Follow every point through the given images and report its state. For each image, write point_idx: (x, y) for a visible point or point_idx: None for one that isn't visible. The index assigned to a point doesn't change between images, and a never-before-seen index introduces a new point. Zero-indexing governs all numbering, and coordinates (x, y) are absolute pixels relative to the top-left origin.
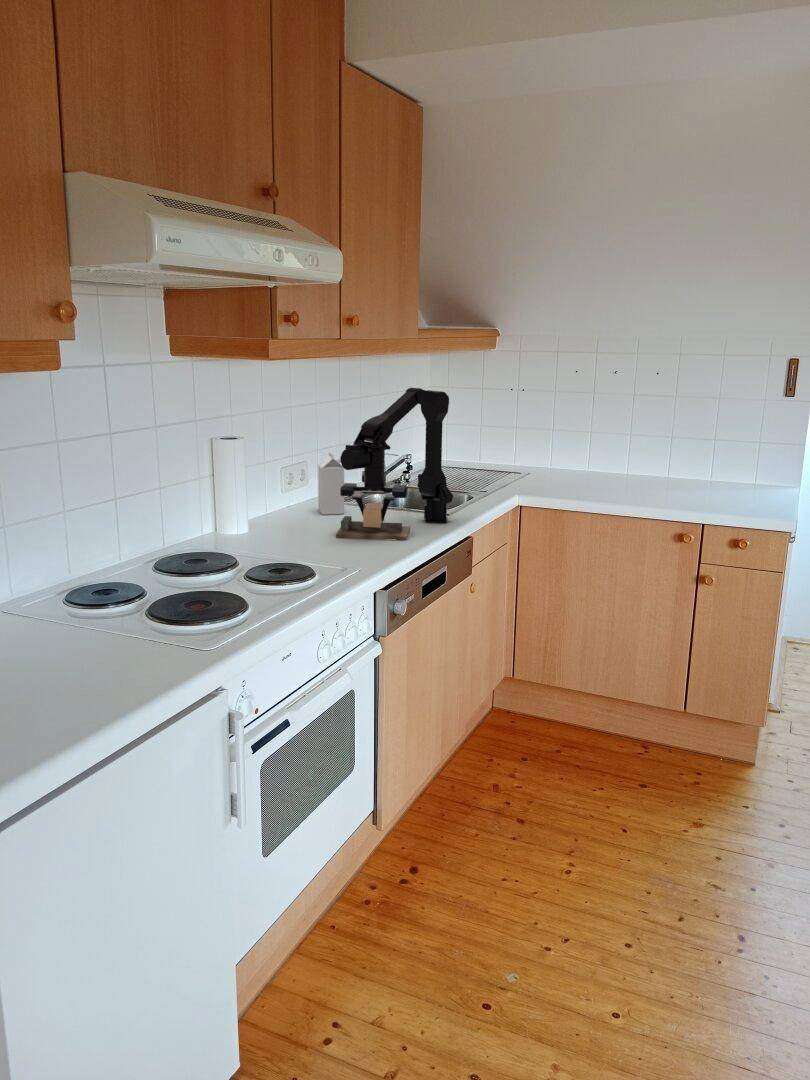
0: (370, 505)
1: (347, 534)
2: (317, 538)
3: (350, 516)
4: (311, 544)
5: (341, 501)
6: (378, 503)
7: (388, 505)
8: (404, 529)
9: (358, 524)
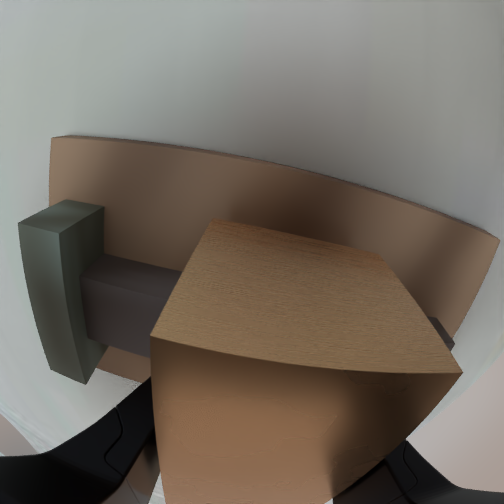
0: (218, 459)
1: (120, 374)
2: (29, 336)
3: (53, 241)
4: (47, 391)
5: None
6: (378, 382)
7: (421, 468)
8: (451, 308)
9: (149, 355)
